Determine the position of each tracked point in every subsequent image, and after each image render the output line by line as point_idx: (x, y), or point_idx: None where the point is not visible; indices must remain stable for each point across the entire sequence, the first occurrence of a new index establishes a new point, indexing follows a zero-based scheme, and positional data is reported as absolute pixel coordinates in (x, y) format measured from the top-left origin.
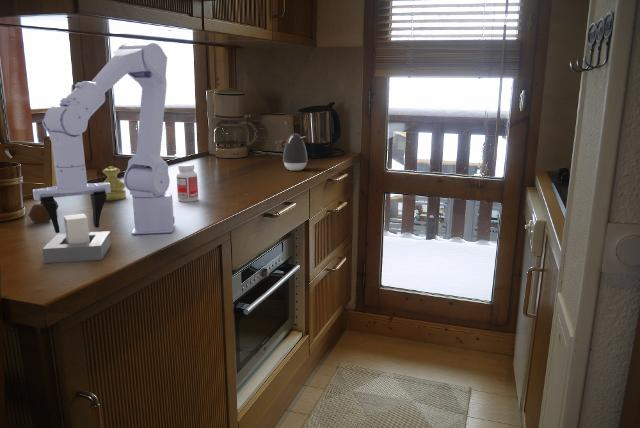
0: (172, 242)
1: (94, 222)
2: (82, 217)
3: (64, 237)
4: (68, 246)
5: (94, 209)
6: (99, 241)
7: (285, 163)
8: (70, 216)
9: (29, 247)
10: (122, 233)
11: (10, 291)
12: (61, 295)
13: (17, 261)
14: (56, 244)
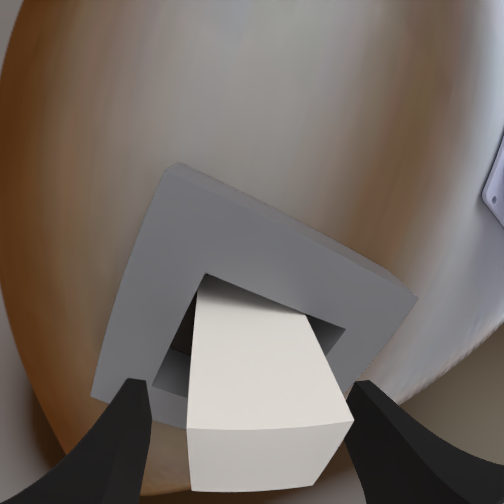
0: (478, 341)
1: (353, 423)
2: (291, 483)
3: (189, 290)
4: (185, 421)
5: (381, 490)
6: None
7: None
8: (234, 456)
9: (64, 95)
10: (470, 141)
11: (69, 451)
12: (155, 493)
13: (24, 284)
14: (140, 379)
